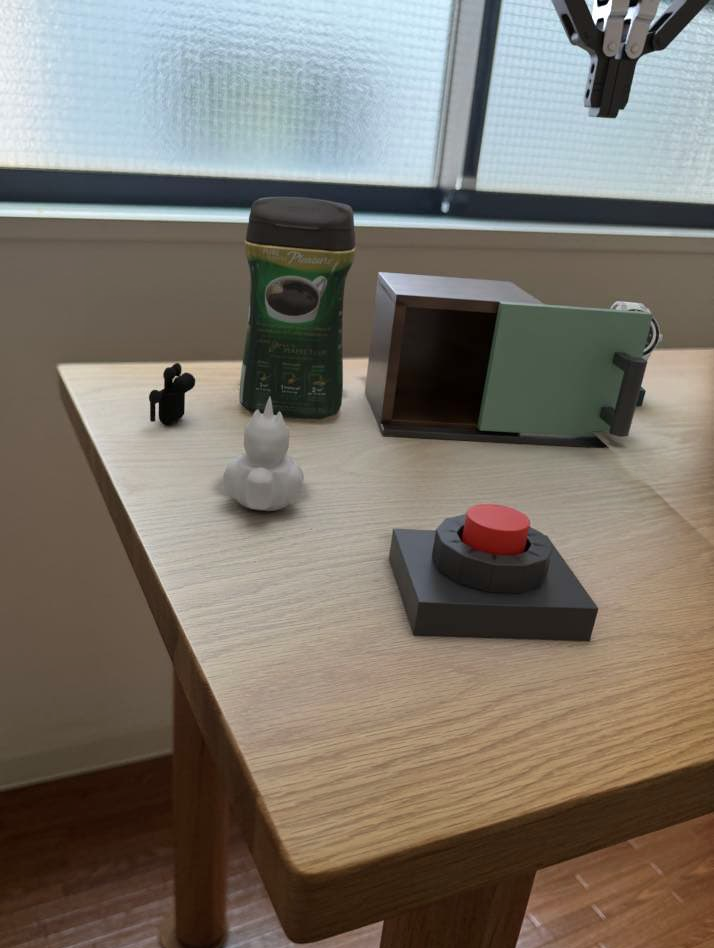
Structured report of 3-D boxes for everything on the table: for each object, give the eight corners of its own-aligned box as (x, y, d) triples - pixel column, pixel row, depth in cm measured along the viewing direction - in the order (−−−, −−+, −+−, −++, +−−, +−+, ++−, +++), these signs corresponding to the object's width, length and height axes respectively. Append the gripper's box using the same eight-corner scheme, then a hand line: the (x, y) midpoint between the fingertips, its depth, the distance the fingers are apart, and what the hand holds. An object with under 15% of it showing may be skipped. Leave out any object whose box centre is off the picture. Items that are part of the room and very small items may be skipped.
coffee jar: (343, 402, 83) (363, 199, 75) (337, 428, 76) (359, 207, 68) (245, 391, 84) (255, 189, 76) (230, 416, 77) (240, 196, 69)
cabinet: (572, 405, 89) (599, 288, 83) (620, 449, 77) (655, 316, 72) (364, 393, 87) (378, 271, 81) (382, 436, 75) (399, 298, 70)
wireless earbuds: (181, 409, 77) (181, 354, 75) (206, 414, 77) (207, 359, 75) (144, 432, 71) (144, 373, 69) (171, 437, 71) (172, 378, 69)
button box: (540, 565, 55) (552, 509, 54) (589, 642, 47) (606, 579, 46) (388, 558, 54) (396, 501, 53) (413, 636, 46) (423, 572, 45)
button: (514, 531, 51) (520, 505, 50) (532, 560, 48) (538, 532, 47) (455, 529, 51) (460, 502, 50) (469, 557, 47) (475, 529, 47)
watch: (587, 421, 84) (614, 309, 79) (570, 397, 91) (593, 293, 86) (644, 427, 84) (674, 314, 79) (622, 402, 91) (649, 298, 86)
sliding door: (617, 434, 78) (648, 311, 73) (640, 455, 73) (676, 325, 68) (477, 426, 77) (499, 301, 72) (492, 447, 72) (517, 314, 67)
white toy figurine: (304, 495, 62) (313, 389, 59) (296, 535, 56) (305, 420, 53) (230, 487, 62) (235, 381, 59) (214, 526, 56) (218, 411, 53)
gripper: (586, -215, 51) (530, 111, 59) (794, -189, 52) (712, 126, 60) (545, -178, 57) (500, 109, 65) (731, -156, 59) (665, 123, 66)
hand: (602, 117), depth 62 cm, fingers closed
